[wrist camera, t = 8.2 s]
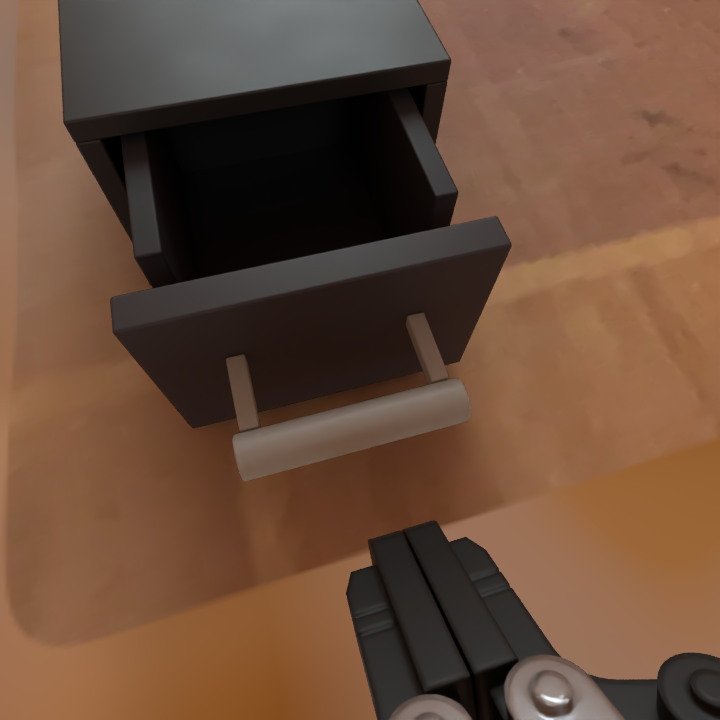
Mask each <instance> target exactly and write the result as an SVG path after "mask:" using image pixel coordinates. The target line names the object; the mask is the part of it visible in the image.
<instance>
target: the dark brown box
mask: <svg viewBox="0 0 720 720" xmlns="http://www.w3.org/2000/svg"><path fill="white" fill-rule="evenodd" d="M58 10H59V33H60V55H61V77H62V100H63V122H64V125H65V126H66V128H67V130H68V132H69V133H70V135H71V137H72V139H73V140H74V142H75V143H76V145H77V147H78V149H79V151H80V152H81V154H82V156H83V158H84V159H85V161H86V163H87V165H88V166H89V168H90V170H91V171H92V173H93V175H94V177H95V178H96V180H97V182H98V184H99V185H100V187H101V189H102V191H103V192H104V194H105V196H106V198H107V199H108V201H109V203H110V204H111V206H112V208H113V210H114V211H115V213H116V215H117V217H118V218H119V220H120V222H121V224H122V225H123V227H124V229H125V231H126V232H127V234H128V236H129V237H130V239H131V241H132V233H131V224H130V215H129V206H128V197H127V188H126V180H125V171H124V162H123V153H122V144H121V135H127V134H133V133H138V132H144V131H150V130H156V129H162V128H168V127H174V126H180V125H186V124H192V123H198V122H204V121H210V120H216V119H222V118H228V117H234V116H240V115H246V114H252V113H258V112H264V111H270V110H276V109H282V108H288V107H294V106H300V105H306V104H312V103H318V102H324V101H330V100H336V99H342V98H348V97H354V96H360V95H365V94H371V93H377V92H383V91H389V90H395V89H401V88H408V90H409V92H410V94H411V96H412V98H413V100H414V102H415V104H416V106H417V108H418V110H419V112H420V114H421V116H422V119H423V121H424V123H425V125H426V127H427V129H428V131H429V133H430V135H431V137H432V139H433V141H434V143H435V144H436V139H437V134H438V128H439V123H440V118H441V113H442V107H443V102H444V97H445V92H446V87H447V80H448V75H449V70H450V65H451V58H450V57H449V55H448V53H447V51H446V50H445V48H444V46H443V44H442V43H441V41H440V39H439V37H438V35H437V34H436V32H435V30H434V28H433V27H432V25H431V23H430V21H429V19H428V18H427V16H426V14H425V12H424V11H423V9H422V7H421V5H420V4H419V2H418V0H58ZM132 243H133V242H132Z"/></svg>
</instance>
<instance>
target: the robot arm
mask: <svg viewBox="0 0 720 720" xmlns="http://www.w3.org/2000/svg"><path fill="white" fill-rule="evenodd" d="M368 545H369V550H370V555H371V559H372V565H373V566H370V567H366V568H363V569H360V570H357V571H353V572H351V575H350V579H349V583H348V588H347V592H346V595H347V600H348V604H349V608H350V612H351V617H352V621H353V625H354V629H355V633H356V638H357V642H358V646H359V650H360V654H361V658H362V662H363V666H364V670H365V673H366V677H367V681H368V685H369V689H370V693H371V696H372V701H373V704H374V708H375V712H376V716H377V720H720V658H717V657H714V656H711V655H707V654H701V653H682V654H678V655H675V656H673V657H670V658H669V659H668V660H666V661H665V662H664V663H663V664H662V666H661V667H660V670H659V672H658V677H657V680H656V679H649V680H615V679H605V678H599V677H596V676H592V675H589V674H587V673H586V672H585V671H584V670H583V669H581V668H580V667H579V666H577V665H576V664H574V663H572V662H571V661H568V660H566V659H564V658H562V657H561V656H560V655H559V654H558V653H557V652H556V651H555V650H554V648H553V647H552V645H551V644H550V642H549V641H548V640H547V638H546V637H545V635H544V634H543V632H542V631H541V629H540V628H539V626H538V625H537V624H536V622H535V621H534V619H533V618H532V616H531V615H530V613H529V612H528V611H527V609H526V608H525V606H524V605H523V603H522V602H521V600H520V599H519V597H518V596H517V595H516V593H515V592H514V590H513V589H512V588H510V585H509V583H508V582H507V580H506V579H505V577H504V576H503V574H502V573H501V572H499V569H498V567H497V566H496V564H495V563H494V561H493V560H492V558H491V557H490V555H489V554H488V552H487V551H486V550H485V549H484V548H482V547H481V546H479V545H477V544H476V543H474V542H473V541H471V540H470V539H468V538H467V537H464V538H461V539H457V540H454V541H451V542H448V540H447V538H446V537H445V535H444V533H443V531H442V530H441V528H440V526H439V525H438V523H437V522H436V521H435V520H433V521H429V522H426V523H423V524H419V525H416V526H413V527H409V528H406V529H403V530H402V532H401V531H396V532H393V533H390V534H386V535H383V536H379V537H376V538H373V539H369V540H368Z"/></svg>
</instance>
